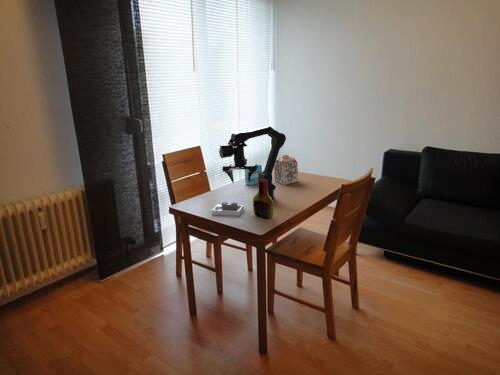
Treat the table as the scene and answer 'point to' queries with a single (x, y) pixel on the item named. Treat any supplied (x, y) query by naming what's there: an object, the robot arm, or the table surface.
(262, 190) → the bottle
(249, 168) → the robot arm
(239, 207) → the dock tray
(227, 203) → the plug
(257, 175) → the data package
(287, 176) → the decorative jar
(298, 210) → the table surface
